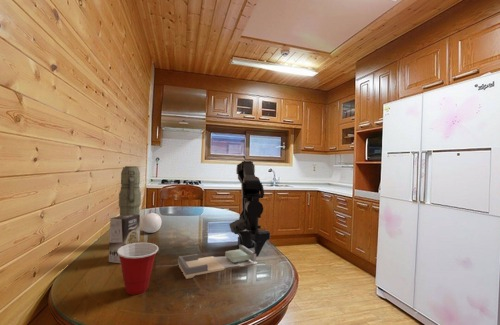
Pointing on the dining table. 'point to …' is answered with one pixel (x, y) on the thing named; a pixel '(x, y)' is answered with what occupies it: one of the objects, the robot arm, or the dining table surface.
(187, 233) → the dining table surface
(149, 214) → the ornament
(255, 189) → the robot arm
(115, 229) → the coffee box
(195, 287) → the dining table surface
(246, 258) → the green block on base
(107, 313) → the dining table surface
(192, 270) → the dock
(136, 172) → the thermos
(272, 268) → the dining table surface
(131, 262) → the plastic cup
